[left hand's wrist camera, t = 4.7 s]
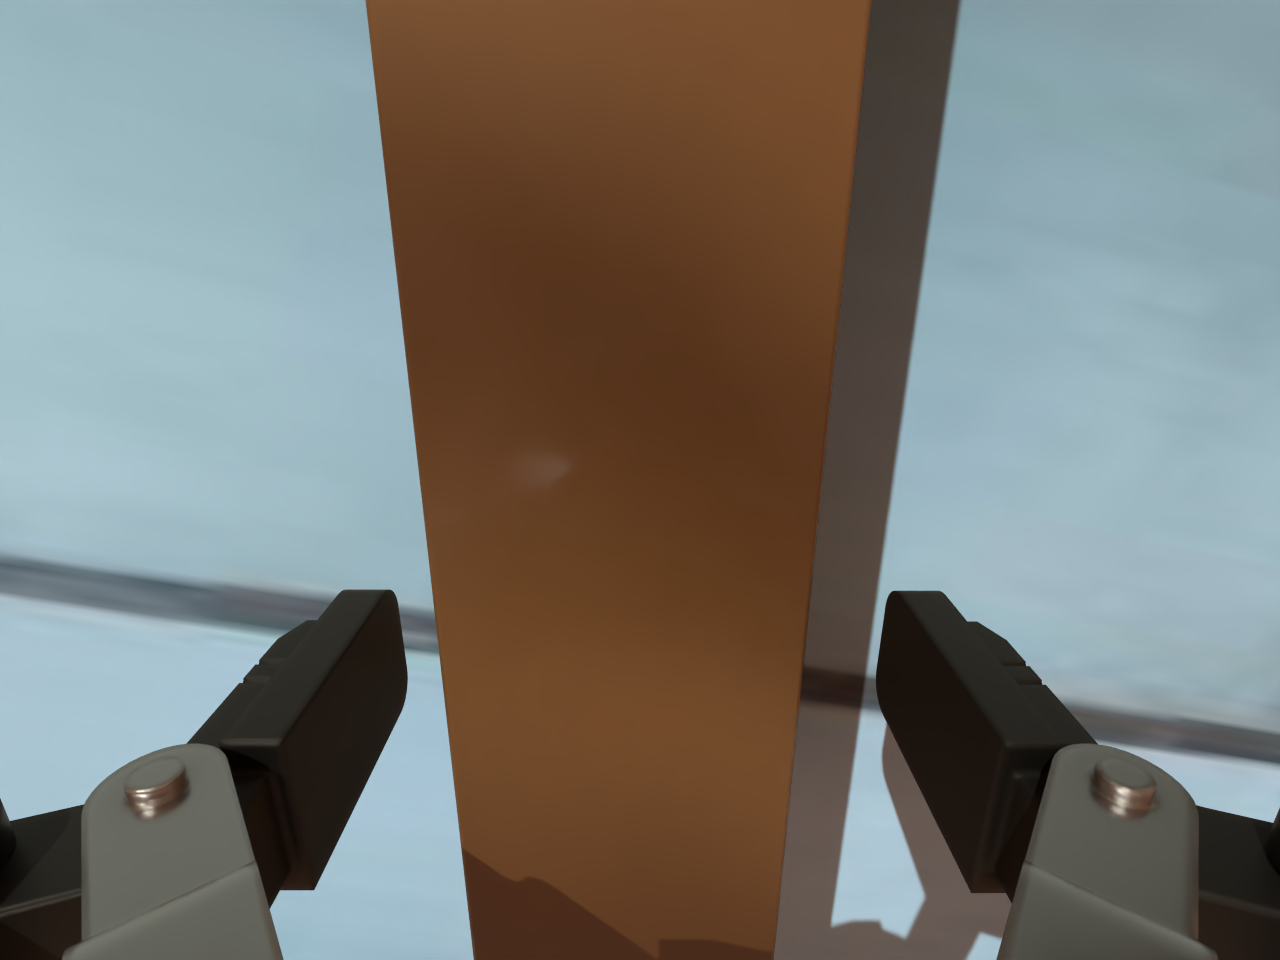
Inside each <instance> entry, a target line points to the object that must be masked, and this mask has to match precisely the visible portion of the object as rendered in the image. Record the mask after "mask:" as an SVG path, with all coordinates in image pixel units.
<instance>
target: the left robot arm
mask: <svg viewBox="0 0 1280 960" xmlns="http://www.w3.org/2000/svg"><path fill="white" fill-rule="evenodd" d="M243 679H244V681H243V683H239V684H238V685H237V686H236V688H235V689H234V690H233V691H232V692H231V693H230V694H229V696H228V697H227V698H226V699H225V700H224V701H223V703H222V704H221V705H220V706H219V707H218V708H217V709H216V711H215V712H214V713H213V714H212V715H211V716H210V717H209V719H208V720H207V721H206V722H205V723H204V724H203V725H202V727H201V728H200V729H199V730H198V731H197V732H196V733H195V735H194V736H193V737H192V738H191V739H190V740H189V742H188V743H187V744H183V745H176V746H171V747H167V748H163V749H160V750H157V751H154V752H151V753H149V754H146V755H144V756H142V757H139V758H137V759H135V760H133V761H131V762H129V763H128V764H126V765H124V766H123V767H121V768H119V769H118V770H116V771H115V772H114V773H112V774H111V775H110V776H108V777H107V778H106V779H105V780H104V781H102V782H101V783H100V784H99V785H98V786H97V787H96V788H95V789H94V791H93V792H92V793H91V794H90V796H89V797H88V799H87V800H86V802H85V804H84V805H80V806H75V807H71V808H66V809H62V810H58V811H53V812H49V813H44V814H40V815H35V816H31V817H26V818H22V819H18V820H13V821H9V818H8V816H7V814H6V811H5V809H4V806H3V804H2V802H1V799H0V960H283V956H282V953H281V949H280V945H279V942H278V938H277V934H276V931H275V927H274V924H273V920H272V916H271V913H270V907H271V905H272V904H273V902H274V900H275V898H276V896H277V894H278V893H279V891H280V890H314V889H315V887H316V885H317V883H318V881H319V879H320V877H321V875H322V873H323V871H324V869H325V867H326V865H327V863H328V861H329V859H330V857H331V855H332V852H333V850H334V848H335V846H336V844H337V842H338V840H339V838H340V836H341V834H342V832H343V830H344V828H345V826H346V824H347V822H348V820H349V818H350V816H351V814H352V812H353V810H354V807H355V805H356V803H357V801H358V799H359V797H360V795H361V793H362V791H363V789H364V787H365V785H366V783H367V781H368V779H369V777H370V775H371V773H372V771H373V769H374V767H375V765H376V762H377V760H378V758H379V756H380V754H381V752H382V750H383V748H384V746H385V744H386V742H387V740H388V738H389V736H390V734H391V732H392V730H393V728H394V726H395V724H396V722H397V720H398V717H399V715H400V713H401V711H402V709H403V706H404V702H405V698H406V692H407V680H408V676H407V665H406V658H405V651H404V644H403V637H402V629H401V622H400V615H399V608H398V602H397V598H396V596H395V594H394V592H393V591H392V590H343V591H341V592H340V593H339V594H338V595H337V597H336V598H335V599H334V600H333V602H332V603H331V604H330V605H329V607H328V608H327V609H326V610H325V611H324V613H323V614H322V615H321V616H320V618H319V619H318V620H307V621H305V622H304V623H302V624H301V625H299V626H297V627H296V628H294V629H293V630H291V631H290V632H288V633H286V634H285V635H283V636H282V637H280V638H278V639H277V641H276V642H275V643H274V644H273V645H272V646H271V647H270V649H269V650H268V651H267V652H266V653H265V654H264V655H263V657H262V658H261V659H260V660H259V665H255V666H254V667H253V668H252V669H251V670H250V672H249V673H248V674H247V675H246V676H245V677H244V678H243ZM876 689H877V696H878V701H879V705H880V708H881V711H882V713H883V716H884V718H885V720H886V722H887V724H888V726H889V728H890V730H891V732H892V734H893V736H894V738H895V740H896V742H897V744H898V746H899V748H900V750H901V752H902V754H903V756H904V758H905V760H906V762H907V764H908V766H909V768H910V770H911V772H912V774H913V776H914V778H915V780H916V782H917V784H918V786H919V788H920V790H921V792H922V794H923V796H924V798H925V800H926V802H927V804H928V806H929V808H930V811H931V813H932V815H933V817H934V819H935V821H936V823H937V825H938V827H939V829H940V831H941V833H942V835H943V837H944V839H945V841H946V843H947V845H948V847H949V849H950V851H951V853H952V855H953V857H954V859H955V861H956V863H957V865H958V867H959V869H960V871H961V873H962V875H963V877H964V879H965V881H966V883H967V885H968V887H969V889H970V891H971V893H1006V894H1007V896H1008V898H1009V899H1010V901H1011V903H1012V906H1011V909H1010V913H1009V916H1008V920H1007V924H1006V927H1005V931H1004V934H1003V938H1002V942H1001V945H1000V949H999V953H998V956H997V960H1280V809H1279V811H1278V813H1277V816H1276V818H1275V821H1274V823H1271V822H1266V821H1262V820H1257V819H1253V818H1249V817H1244V816H1240V815H1235V814H1231V813H1226V812H1222V811H1218V810H1213V809H1209V808H1204V807H1200V806H1197V805H1196V804H1195V802H1194V800H1193V799H1192V797H1191V796H1190V794H1189V793H1188V792H1187V791H1186V789H1185V788H1184V787H1183V786H1182V785H1181V784H1180V783H1179V782H1178V781H1176V780H1175V779H1174V778H1173V777H1172V776H1170V775H1169V774H1168V773H1166V772H1165V771H1163V770H1162V769H1161V768H1159V767H1157V766H1156V765H1154V764H1152V763H1151V762H1149V761H1147V760H1145V759H1143V758H1141V757H1138V756H1136V755H1134V754H1131V753H1129V752H1126V751H1123V750H1120V749H1117V748H1113V747H1109V746H1104V745H1098V744H1097V743H1096V741H1095V740H1094V739H1093V738H1092V737H1091V736H1090V735H1089V733H1088V732H1087V731H1086V730H1085V729H1084V728H1083V727H1082V725H1081V724H1080V723H1079V722H1078V721H1077V720H1076V719H1075V718H1074V716H1073V715H1072V714H1071V713H1070V712H1069V711H1068V710H1067V708H1066V707H1065V706H1064V705H1063V704H1062V703H1061V702H1060V700H1059V699H1058V698H1057V697H1056V696H1055V695H1054V694H1053V693H1052V691H1051V690H1050V689H1049V688H1048V687H1047V686H1046V685H1042V680H1041V679H1040V678H1039V677H1038V675H1037V674H1036V673H1035V672H1034V671H1033V670H1032V669H1031V668H1030V666H1026V662H1025V661H1024V660H1023V658H1022V657H1021V656H1020V655H1019V654H1018V653H1017V652H1016V650H1015V649H1014V648H1013V647H1012V646H1011V645H1010V644H1009V642H1008V641H1007V640H1005V639H1004V638H1002V637H1001V636H999V635H997V634H996V633H994V632H993V631H991V630H990V629H988V628H986V627H985V626H983V625H982V624H980V623H978V622H967V621H966V620H965V618H964V617H963V616H962V615H961V613H960V612H959V611H958V610H957V609H956V607H955V606H954V605H953V604H952V603H951V601H950V600H949V599H948V598H947V596H946V595H945V594H944V593H943V592H941V591H892V592H891V593H890V594H889V596H888V598H887V602H886V607H885V614H884V621H883V628H882V635H881V642H880V649H879V656H878V663H877V671H876Z"/></svg>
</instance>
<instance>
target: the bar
mask: <svg viewBox="0 0 1280 960" xmlns="http://www.w3.org/2000/svg"><path fill="white" fill-rule="evenodd" d="M871 2H872V0H366V8H367V16H368V25H369V34H370V43H371V52H372V61H373V70H374V78H375V87H376V96H377V105H378V114H379V123H380V132H381V140H382V149H383V158H384V167H385V176H386V185H387V194H388V203H389V211H390V220H391V229H392V238H393V247H394V256H395V265H396V273H397V282H398V291H399V300H400V309H401V318H402V327H403V335H404V344H405V353H406V362H407V371H408V380H409V389H410V397H411V406H412V415H413V424H414V433H415V442H416V451H417V459H418V468H419V477H420V486H421V495H422V504H423V513H424V521H425V530H426V539H427V548H428V557H429V566H430V575H431V583H432V592H433V601H434V610H435V619H436V628H437V637H438V645H439V654H440V663H441V672H442V681H443V690H444V699H445V707H446V716H447V725H448V734H449V743H450V752H451V761H452V770H453V778H454V787H455V796H456V805H457V814H458V823H459V832H460V840H461V849H462V858H463V867H464V876H465V885H466V894H467V902H468V911H469V920H470V929H471V938H472V947H473V956H474V960H773V959H774V949H775V940H776V930H777V920H778V910H779V900H780V891H781V881H782V871H783V861H784V852H785V842H786V832H787V822H788V813H789V803H790V793H791V783H792V773H793V764H794V754H795V744H796V734H797V725H798V715H799V705H800V695H801V686H802V676H803V666H804V656H805V646H806V637H807V627H808V617H809V607H810V598H811V588H812V578H813V568H814V559H815V549H816V539H817V529H818V519H819V510H820V500H821V490H822V480H823V471H824V461H825V451H826V441H827V431H828V422H829V412H830V402H831V392H832V383H833V373H834V363H835V353H836V344H837V334H838V324H839V314H840V304H841V295H842V285H843V275H844V265H845V256H846V246H847V236H848V226H849V217H850V207H851V197H852V187H853V177H854V168H855V158H856V148H857V138H858V129H859V119H860V109H861V99H862V90H863V80H864V70H865V60H866V50H867V41H868V31H869V21H870V11H871Z"/></svg>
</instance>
